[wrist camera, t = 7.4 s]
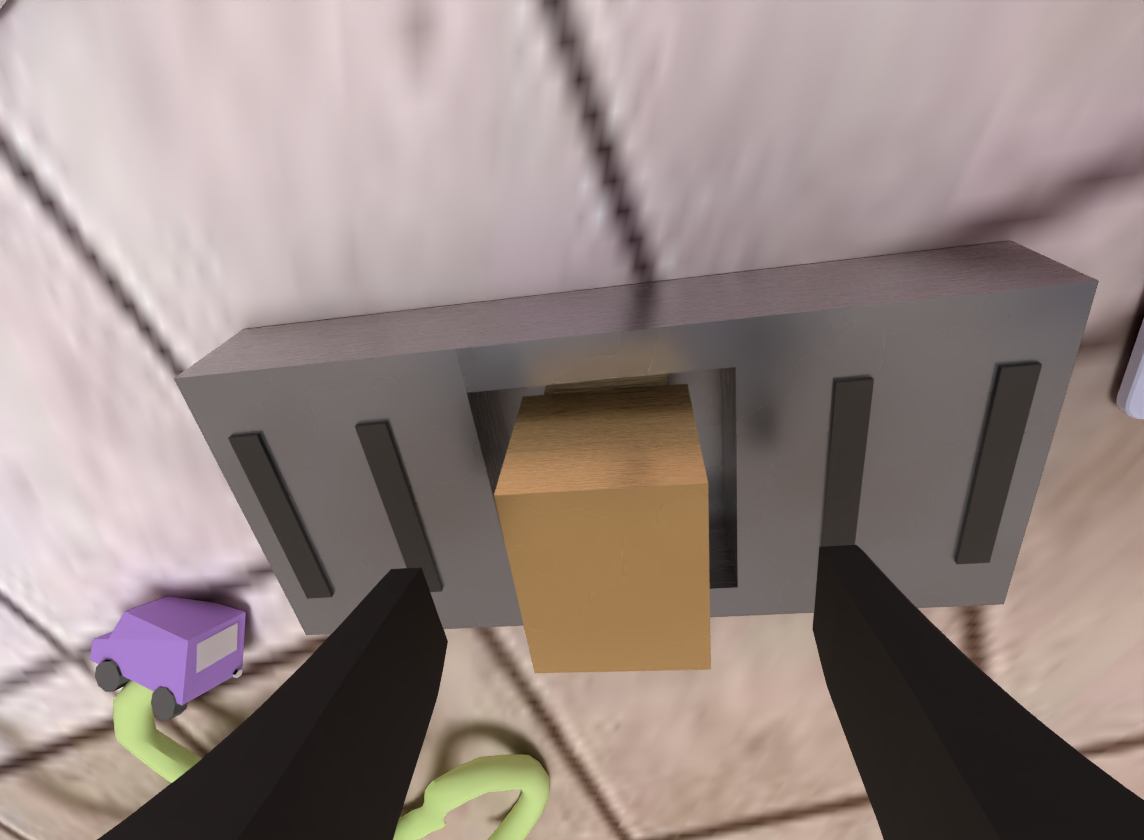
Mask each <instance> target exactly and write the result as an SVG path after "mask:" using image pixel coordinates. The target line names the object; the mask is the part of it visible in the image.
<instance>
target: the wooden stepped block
mask: <svg viewBox="0 0 1144 840" xmlns="http://www.w3.org/2000/svg"><path fill="white" fill-rule="evenodd" d="M494 498H495V502H496V507H497V511H498V515H499V520H500V524H501V528H502V533H503V537H504V541H505V546H506V550H507V554H508V559H509V563H510V568H511V572H512V576H513V581H514V585H515V589H516V594H517V598H518V602H519V607H520V611H521V615H522V620H523V624H524V628H525V633H526V637H527V641H528V646H529V650H530V654H531V659H532V663H533V667H534V672H535V673H564V672H611V671H658V670H704V669H711V658H710V582H709V507H708V480H707V475H706V470H705V466H704V461H703V456H702V451H701V446H700V442H699V437H698V432H697V427H696V423H695V418H694V413H693V408H692V403H691V399H690V394H689V389H688V384H677V385H669V381H668V374H657V375H646V376H636V377H625V378H615V379H604V380H594V381H583V382H573V383H563V384H552V385H546V387H545V391H544V395H533V396H523V397H522V401H521V404H520V408H519V411H518V415H517V418H516V421H515V425H514V428H513V432H512V435H511V439H510V442H509V445H508V449H507V452H506V456H505V459H504V463H503V466H502V469H501V473H500V476H499V480H498V483H497V486H496V490H495V493H494Z"/></svg>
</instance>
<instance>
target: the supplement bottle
mask: <svg viewBox="0 0 1144 840" xmlns="http://www.w3.org/2000/svg"><path fill="white" fill-rule="evenodd" d="M6 1H7V0H0V9H1V8H2V6H3V5H4V4H5V2H6Z"/></svg>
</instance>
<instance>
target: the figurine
mask: <svg viewBox="0 0 1144 840" xmlns="http://www.w3.org/2000/svg"><path fill="white" fill-rule="evenodd" d="M245 616H246V612H244V611H241V610H238V609H234V608H231V607H228V606H225V605H222V604H218V603H213V602H206V601H199V600H191V599H184V598H177V597H170V596H166V597H163V598H161V599H158V600H155V601H152V602H150V603H147V604H144V605H142V606H139V607H136V608H133V609H131V610H128V611H125V612H124V614H123V615H122V617H121V619H120V620H119V622H118V624H117V625H116V627H115V629H114V630H113V631H112V632H110V633H107V634H105V635H102V636H100V637H97V638H95V639H93V643H92V649H91V655H90V660H92V661H94V662H96V663H98V664H99V665H98V666H97V667H96V673H95V678H96V680H97V683H98V686H99V687H101V688H102V689H103V690H104V691H107V692H113V691H115V690H117V689H119V688H121V687H123V686H124V687H123V688H122V690H121V691H120V692H119V693H118V695H117V696H116V697H115V699H114V700H113V719H114V729H115V737H116V739H117V741H118V742H119V743H120V744H122V745H123V746H124V747H125V748H126V749H128V750H129V751H130V752H131V753H132V754H133V755H135V756H136V757H137V758H138V759H140V760H141V761H142V762H143V763H145V764H146V765H147V766H149V767H150V768H151V769H153V770H154V771H155V772H156V773H158V774H159V775H160V776H162V777H163V778H165V779H166V780H167V781H169V782H170V783H172V782H174V781H175V780H176V779H178V778H179V777H180V776H181V775H183V774H184V773H185V772H186V771H188V770H189V769H190V768H191V767H193V766H194V765H195V764H196V763H197V762H199V761H200V760H201V759H202V758H200V757H199V756H197V755H196V754H194V753H193V752H191V751H190V750H188V749H187V748H185V747H183V746H182V745H180V744H179V743H177V742H175V741H174V740H172V739H171V738H169V737H168V736H166V735H164V734H163V733H161V732H160V731H158V730H157V729H156V726H155V720H154V715H153V713H154V714H155V715H156V716H157V717H158V718H159V720H169V719H171V718H173V717H175V716H177V715H180V714H181V713H182V712H183V711H184V710H186V708H187V703H188V702H189V701H191V700H193V699H194V698H196V697H198V696H200V695H201V694H203V693H205V692H207V691H208V690H210V689H212V688H214V687H215V686H217V685H219V684H221V683H222V682H224V681H226V680H228V679H229V678H231V677H235V678H238V677H239V676H241V674H242V666H243V649H244V633H245ZM549 787H550V783H549V776H548V774H547V773H546V771H545V770H544V768H543V767H542V766H541V764H540V763H539V761H537V760H536V759H534V758H533V757H531V756H530V755H522V754H513V755H495V756H485V757H479V758H477V759H474V760H472V761H470V762H467V763H465V764H463V765H460V766H458V767H456V768H454V769H452V770H450V771H448V772H447V773H445V774H443V775H441V776H440V777H438V778H436V779H434V780H433V781H432V782H431V783H430V784H429V786H428V787H427V788H426V789H425V795H424V804H423V806H422V807H420V808H418V809H414V810H412V811H410V812H409V813H407V814H406V815H404V816H403V817H401V818H399V820H398V824H397V827H396V831H395V835H394V838H393V840H419V839H421V838H423V837H424V836H426V835H427V834H429V833H430V832H433V831H436V830H439V829H441V828H443V827H444V825H445V823H446V822H445V821H444V819H443V817H444V816H445V815H446V814H447V813H448V812H449V811H450V810H452V809H454V808H456V807H458V806H460V805H462V804H463V803H465V802H467V801H469V800H471V799H473V798H476V797H478V796H480V795H482V794H485V793H487V792H497V791H506V790H515V789H521V790H522V793H521V796H520V798H519V800H518V801H517V802H516V804H515V805H514V807H513V808H512V810H511V811H510V812H509V814H508V815H507V816H506V818H505V819H504V820H503V822H502V823H501V824H500V826H499V827H498V828H497V829H496V830H495V831H494V833H493V834H492V835H491V836H490V837H489V839H488V840H524V839H525V838H526V837H527V835H528V834H529V833H530V831H531V830H532V829H533V827H534V826H535V824H536V822H537V821H538V819H539V818H540V816H541V814H542V813H543V811H544V809H545V806H546V803H547V801H548V798H549Z"/></svg>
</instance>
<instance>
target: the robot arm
mask: <svg viewBox="0 0 1144 840" xmlns="http://www.w3.org/2000/svg"><path fill="white" fill-rule="evenodd" d="M1116 404H1117V406H1118V407H1119V409H1120V410H1121V411H1123V412H1124V413H1126V414H1127V415H1129V416H1131V417H1132V418H1134V419H1144V319H1143V322H1142V325H1141V328H1140V331H1139V334H1138V337H1137V340H1136V343H1135V345H1134V348H1133V351H1132V354H1131V357H1130V360H1129V363H1128V366H1127V369H1126V372H1125V375H1124V378H1123V381H1122V384H1121V386H1120V389H1119V392H1118V395H1117V402H1116ZM813 632H814V636H815V640H816V644H817V649H818V653H819V657H820V661H821V665H822V669H823V672H824V676H825V680H826V684H827V687H828V690H829V693H830V696H831V698H832V701H833V704H834V706H835V709H836V712H837V715H838V717H839V720H840V723H841V725H842V728H843V731H844V733H845V736H846V739H847V741H848V744H849V747H850V749H851V752H852V755H853V757H854V760H855V763H856V765H857V768H858V770H859V773H860V776H861V778H862V781H863V784H864V786H865V789H866V792H867V794H868V797H869V800H870V802H871V805H872V808H873V810H874V813H875V816H876V818H877V821H878V824H879V827H880V830H881V833H882V836H883V839H884V840H1144V800H1143V799H1141V798H1140V797H1139V796H1137V795H1136V794H1134V793H1133V792H1131V791H1130V790H1129V789H1127V788H1126V787H1124V786H1123V785H1122V784H1120V783H1119V782H1118V781H1116V780H1115V779H1114V778H1112V777H1111V776H1110V775H1108V774H1107V773H1106V772H1104V771H1103V770H1102V769H1100V768H1099V767H1098V766H1096V765H1095V764H1094V763H1092V762H1091V761H1090V760H1088V759H1087V758H1086V757H1084V756H1083V755H1082V754H1081V753H1079V752H1078V751H1077V750H1076V749H1074V748H1073V747H1072V746H1071V745H1069V744H1068V743H1067V742H1066V741H1064V740H1063V739H1062V738H1060V737H1059V736H1058V735H1057V734H1055V733H1054V732H1053V731H1052V730H1050V729H1049V728H1048V727H1047V726H1045V725H1044V724H1043V723H1042V722H1041V721H1039V720H1038V719H1037V718H1036V717H1035V716H1033V715H1032V714H1031V713H1030V712H1029V711H1027V710H1026V709H1025V708H1024V707H1023V706H1022V705H1020V704H1019V703H1018V702H1017V701H1016V700H1015V699H1013V698H1012V697H1011V696H1010V695H1009V694H1008V693H1007V692H1005V691H1004V690H1003V689H1002V688H1001V687H1000V686H999V685H998V684H996V683H995V682H994V681H993V680H992V679H991V678H990V677H989V676H987V675H986V674H985V673H984V672H983V671H982V670H981V669H980V668H979V667H977V666H976V665H975V664H974V663H973V662H972V661H971V660H970V659H969V658H968V657H967V656H966V655H965V654H963V653H962V652H961V651H960V650H959V649H958V648H957V647H956V646H955V645H954V644H953V643H952V642H951V641H950V640H949V639H948V638H947V637H946V636H945V635H944V634H943V633H942V632H941V631H940V630H939V629H938V628H937V627H936V626H935V625H934V624H932V623H931V622H930V621H929V620H928V619H927V618H926V617H925V616H924V615H923V614H922V613H921V612H920V611H919V610H918V609H917V607H916V606H915V605H914V604H913V603H912V602H911V601H910V600H909V599H908V598H907V597H906V596H905V595H904V594H903V593H902V592H901V591H900V590H899V589H898V588H897V587H896V586H895V585H894V583H893V582H892V581H891V580H890V579H889V578H888V577H887V576H886V575H885V574H884V573H883V572H882V571H881V570H880V568H879V567H878V566H877V565H876V564H875V563H874V562H873V561H872V560H871V559H870V558H869V556H868V555H867V554H866V553H865V552H864V551H863V550H862V549H861V548H860V547H859V546H857V545H842V546H823V547H819V556H818V569H817V581H816V594H815V606H814V619H813ZM447 643H448V641H447V638H446V635H445V632H444V630H443V627H442V624H441V621H440V618H439V615H438V613H437V610H436V607H435V604H434V601H433V598H432V596H431V593H430V590H429V587H428V584H427V581H426V579H425V576H424V573H423V570H422V567H420V568H400V569H391V570H390V571H389V572H388V573H387V574H386V575H385V576H384V577H383V578H382V579H381V580H380V581H379V582H378V583H377V585H376V586H375V587H374V588H373V589H372V590H371V591H370V592H369V593H368V595H367V596H366V597H365V598H364V599H363V600H362V601H361V602H360V603H359V605H358V606H357V607H356V608H355V609H354V610H353V611H352V612H351V613H350V614H349V616H348V617H347V618H346V619H345V620H344V621H343V622H342V623H341V624H340V625H339V626H338V628H337V629H336V630H335V631H334V632H333V633H332V634H331V635H330V636H329V637H328V638H327V639H326V640H325V642H324V643H323V644H322V645H321V646H320V647H319V648H318V649H317V650H316V651H315V652H314V653H313V654H312V655H311V657H310V658H309V659H308V660H307V661H306V662H305V663H304V664H303V665H302V666H301V667H300V668H299V669H298V670H297V671H296V672H295V673H294V674H293V675H292V676H291V677H290V678H289V679H288V680H287V681H286V682H285V683H284V684H283V685H282V686H281V687H280V688H279V689H278V690H277V691H276V692H275V693H274V694H273V695H272V696H271V697H270V698H269V699H268V700H267V701H266V702H265V703H263V704H262V705H261V706H260V707H259V708H258V709H257V710H256V711H255V712H254V713H253V714H252V715H251V716H250V717H249V718H248V719H247V720H245V721H244V722H243V723H242V724H241V725H240V726H239V727H238V728H237V729H236V730H234V731H233V732H232V733H231V734H230V735H229V736H228V737H226V738H225V739H224V740H223V741H222V742H221V743H220V744H218V745H217V746H216V747H215V748H214V749H213V750H211V751H210V752H209V753H208V754H207V755H206V756H205V757H203V758H202V759H201V760H200V761H199V762H197V763H196V764H195V765H194V766H193V767H191V768H190V769H189V770H188V771H186V772H185V773H184V774H183V775H181V776H180V777H179V778H178V779H176V780H175V781H174V782H172V783H171V784H170V785H169V786H167V787H166V788H165V789H163V790H162V791H161V792H160V793H158V794H157V795H156V796H155V797H153V798H152V799H151V800H149V801H148V802H147V803H146V804H144V805H143V806H142V807H140V808H139V809H138V810H137V811H135V812H134V813H133V814H132V815H130V816H129V817H128V818H126V819H125V820H124V821H122V822H121V823H120V824H118V825H117V826H115V827H114V828H113V829H111V830H110V831H108V832H107V833H106V834H104V835H103V836H102V837H100V838H99V839H97V840H393V838H394V835H395V831H396V827H397V824H398V820H399V817H400V814H401V811H402V807H403V804H404V801H405V798H406V795H407V792H408V789H409V785H410V782H411V779H412V776H413V773H414V770H415V767H416V763H417V760H418V757H419V754H420V751H421V748H422V745H423V742H424V738H425V735H426V732H427V729H428V725H429V722H430V719H431V716H432V713H433V709H434V706H435V703H436V699H437V696H438V691H439V686H440V682H441V677H442V672H443V666H444V660H445V654H446V649H447Z"/></svg>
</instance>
